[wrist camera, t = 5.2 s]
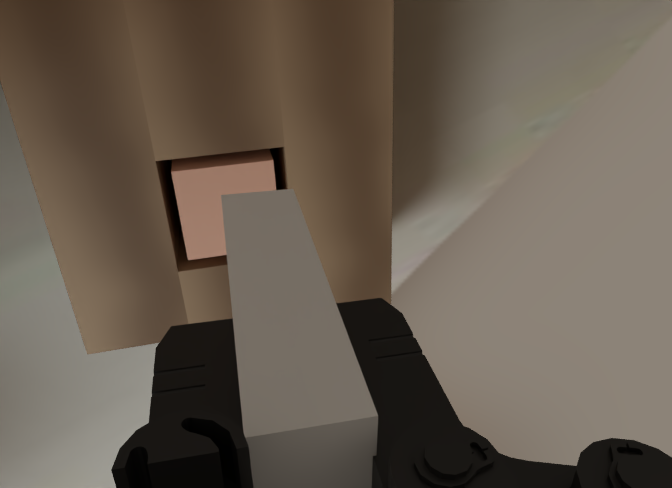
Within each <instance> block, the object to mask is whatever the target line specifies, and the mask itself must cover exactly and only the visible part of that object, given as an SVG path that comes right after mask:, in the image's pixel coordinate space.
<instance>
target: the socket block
mask: <svg viewBox="0 0 672 488" xmlns="http://www.w3.org/2000/svg"><path fill="white" fill-rule="evenodd" d="M393 42H394V0H0V82H1V85H2V88H3V91H4V94H5V98H6V101H7V104H8V107H9V110H10V113H11V116H12V120H13V123H14V126H15V129H16V132H17V135H18V138H19V141H20V145H21V148H22V151H23V154H24V157H25V160H26V163H27V167H28V170H29V173H30V176H31V179H32V182H33V185H34V188H35V192H36V195H37V198H38V201H39V204H40V207H41V210H42V214H43V217H44V220H45V223H46V226H47V229H48V232H49V235H50V239H51V242H52V245H53V248H54V251H55V254H56V257H57V261H58V264H59V267H60V270H61V273H62V276H63V279H64V282H65V286H66V289H67V292H68V295H69V298H70V301H71V304H72V307H73V311H74V314H75V317H76V320H77V323H78V326H79V329H80V333H81V336H82V339H83V342H84V345H85V348H86V351H87V354H93V353H99V352H105V351H111V350H117V349H123V348H129V347H135V346H141V345H147V344H153V343H159V342H161V340H162V339H163V337H164V336H165V334H166V333H167V331H168V330H169V329H170V327H171V326H176V325H184V324H192V323H200V322H208V321H216V320H224V319H232V318H233V316H232V306H231V295H230V285H229V274H228V263H227V255H222V256H215V257H208V258H201V259H194V260H188V258H187V252H186V247H185V242H184V237H183V231H182V226H181V221H180V216H179V210H178V205H177V200H176V195H175V189H174V184H173V179H172V174H171V164H170V159H179V158H188V157H197V156H206V155H215V154H224V153H233V152H241V151H250V150H259V149H268V148H271V154H272V158H273V162H274V172H275V182H276V190H284V189H294V192H295V195H296V197H297V200H298V203H299V205H300V208H301V211H302V213H303V216H304V219H305V222H306V224H307V227H308V230H309V232H310V235H311V238H312V240H313V243H314V246H315V248H316V251H317V254H318V256H319V259H320V262H321V264H322V267H323V270H324V272H325V275H326V278H327V280H328V283H329V286H330V288H331V291H332V294H333V296H334V299H335V302H336V303H343V302H351V301H359V300H367V299H375V298H382V299H384V300H385V301H386V302H388V303H389V304H391V254H392V148H393Z"/></svg>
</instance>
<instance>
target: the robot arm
mask: <svg viewBox="0 0 672 488" xmlns="http://www.w3.org/2000/svg"><path fill="white" fill-rule="evenodd" d="M221 200H222V211H223V221H224V232H225V242H226V253H227V263H228V274H229V285H230V295H231V306H232V316H233V318H232V319H224V320H216V321H208V322H200V323H192V324H184V325H176V326H171V327H170V329H169V330H168V331H167V333H166V334H165V336H164V337H163V339H162V340H161V342H160V343H159V344H158V346H157V347H156V353H155V364H154V377H153V385H152V397H151V406H150V417H149V423H148V424H146V425H145V426H143V427H141V428H140V429H138V430H136V431H135V433H134V434H133V435H132V436H131V437H130V438H129V439H128V440H127V441H126V442H125V443H124V445H123V446H122V447H121V448H120V449H119V452H118V454H117V457H116V460H115V462H114V465H113V467H112V474H113V477H114V481H115V484H116V488H672V457H670V456H668V455H667V454H665V453H663V452H662V451H660V450H659V449H657V448H654V447H651V446H648V445H646V444H642V443H640V442H637V441H634V440H625V439H615V438H611V439H606V440H601V441H597V442H593V443H592V444H591V445H589V446H588V447H587V448H586V449H585V450H583V451H582V452H581V454H580V457H579V460H578V464H577V466H571V465H561V464H551V463H543V462H533V461H525V460H521V459H515V458H511V457H508V456H505V455H503V454H500V453H498V452H497V451H496V449H495V448H494V447H493V446H492V445H491V443H490V442H489V441H488V440H487V439H486V438H484V437H483V436H481V435H479V434H478V433H476V432H475V431H473V430H471V429H470V428H467V427H464V426H463V425H462V423H461V422H460V421H459V419H458V417H457V415H456V413H455V411H454V409H453V408H452V406H451V404H450V402H449V400H448V398H447V396H446V394H445V393H444V391H443V389H442V387H441V385H440V383H439V381H438V380H437V378H436V376H435V374H434V372H433V370H432V368H431V367H430V365H429V363H428V361H427V359H426V357H425V356H424V355H423V354H422V350H421V348H420V346H419V344H418V342H417V340H416V339H415V338H413V333H412V331H411V329H410V327H409V325H408V324H407V322H406V320H405V318H404V316H403V314H402V313H401V312H399V311H398V310H397V309H396V308H394V307H393V306H392V305H390V304H389V303H388V302H386V301H385V300H384V299H382V298H375V299H367V300H359V301H351V302H343V303H336V302H335V299H334V296H333V294H332V291H331V288H330V286H329V283H328V280H327V278H326V275H325V272H324V270H323V267H322V264H321V262H320V259H319V256H318V254H317V251H316V248H315V246H314V243H313V240H312V238H311V235H310V232H309V230H308V227H307V224H306V222H305V219H304V216H303V213H302V211H301V208H300V205H299V203H298V200H297V197H296V195H295V192H294V189H284V190H273V191H262V192H250V193H239V194H227V195H221Z"/></svg>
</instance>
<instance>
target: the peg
mask: <svg viewBox="0 0 672 488" xmlns="http://www.w3.org/2000/svg"><path fill="white" fill-rule="evenodd" d="M171 174H172V179H173V184H174V189H175V195H176V200H177V205H178V210H179V216H180V221H181V226H182V231H183V237H184V242H185V247H186V252H187V258H188V260H194V259H201V258H208V257H215V256H222V255H227V253H226V242H225V232H224V221H223V211H222V200H221V195H227V194H239V193H250V192H262V191H273V190H276V182H275V172H274V162H273V158H272V155H271V153H270V150H269V148H268V149H259V150H250V151H241V152H233V153H224V154H215V155H206V156H197V157H188V158H179V159H172V167H171Z"/></svg>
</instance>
